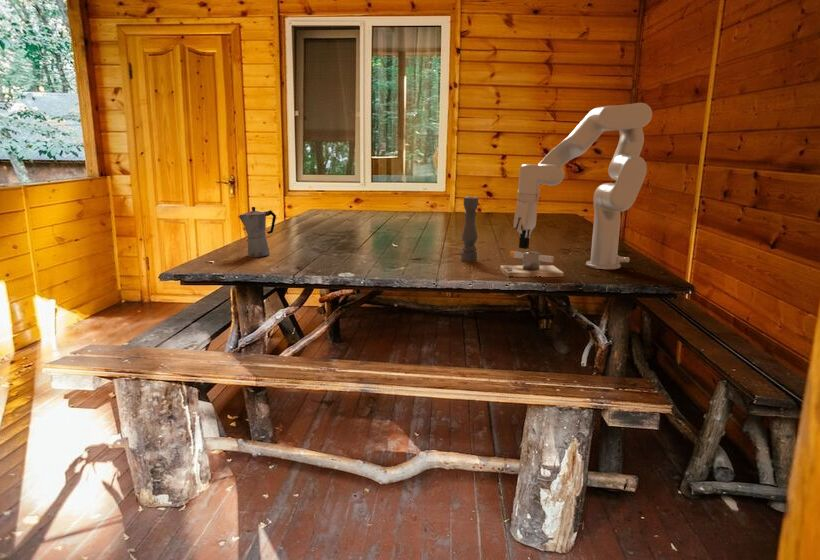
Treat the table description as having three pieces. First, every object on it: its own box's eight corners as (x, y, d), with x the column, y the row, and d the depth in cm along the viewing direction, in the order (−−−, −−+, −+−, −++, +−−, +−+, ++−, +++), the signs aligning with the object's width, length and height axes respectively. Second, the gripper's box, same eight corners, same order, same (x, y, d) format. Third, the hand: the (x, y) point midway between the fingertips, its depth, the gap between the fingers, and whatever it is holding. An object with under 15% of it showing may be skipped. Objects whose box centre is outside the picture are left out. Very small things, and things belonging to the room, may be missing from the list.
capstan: (555, 270, 201) (556, 254, 200) (548, 272, 196) (549, 256, 195) (514, 264, 211) (515, 248, 209) (506, 266, 206) (507, 251, 204)
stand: (552, 269, 210) (553, 264, 210) (563, 276, 198) (563, 271, 198) (499, 269, 209) (500, 264, 209) (507, 276, 197) (507, 271, 197)
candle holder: (463, 262, 222) (465, 198, 216) (459, 259, 227) (461, 196, 222) (478, 261, 223) (481, 198, 217) (473, 258, 229) (476, 196, 223)
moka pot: (236, 255, 230) (233, 206, 226) (272, 251, 239) (270, 204, 235) (245, 259, 223) (242, 208, 218) (281, 255, 232) (279, 206, 227)
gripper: (527, 196, 214) (523, 244, 218) (509, 198, 202) (505, 249, 206) (545, 198, 209) (541, 247, 214) (528, 200, 198) (524, 251, 202)
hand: (523, 247), depth 210 cm, fingers closed
